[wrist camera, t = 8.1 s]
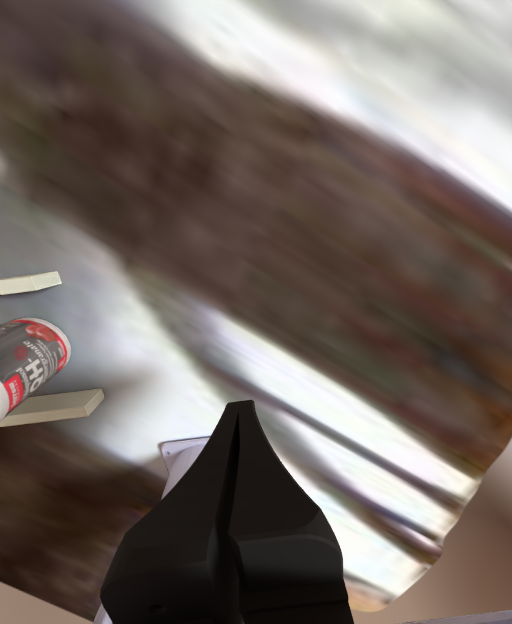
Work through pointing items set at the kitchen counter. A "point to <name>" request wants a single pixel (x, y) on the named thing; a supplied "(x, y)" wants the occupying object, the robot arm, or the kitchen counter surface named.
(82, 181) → the kitchen counter surface
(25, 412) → the u-shaped bracket
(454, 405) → the kitchen counter surface
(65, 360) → the pill bottle
